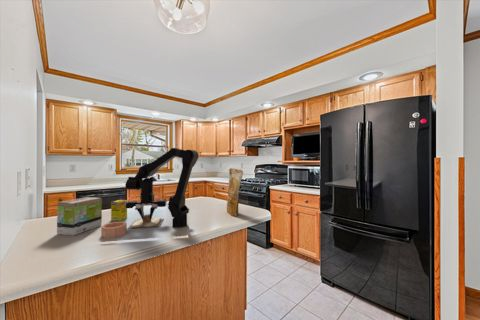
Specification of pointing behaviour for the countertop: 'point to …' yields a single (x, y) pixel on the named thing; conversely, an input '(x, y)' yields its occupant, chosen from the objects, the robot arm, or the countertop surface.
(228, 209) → the pancake mix bag
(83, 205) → the tea box
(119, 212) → the supplement box
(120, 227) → the bowl
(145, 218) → the lid
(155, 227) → the mat
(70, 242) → the countertop surface
